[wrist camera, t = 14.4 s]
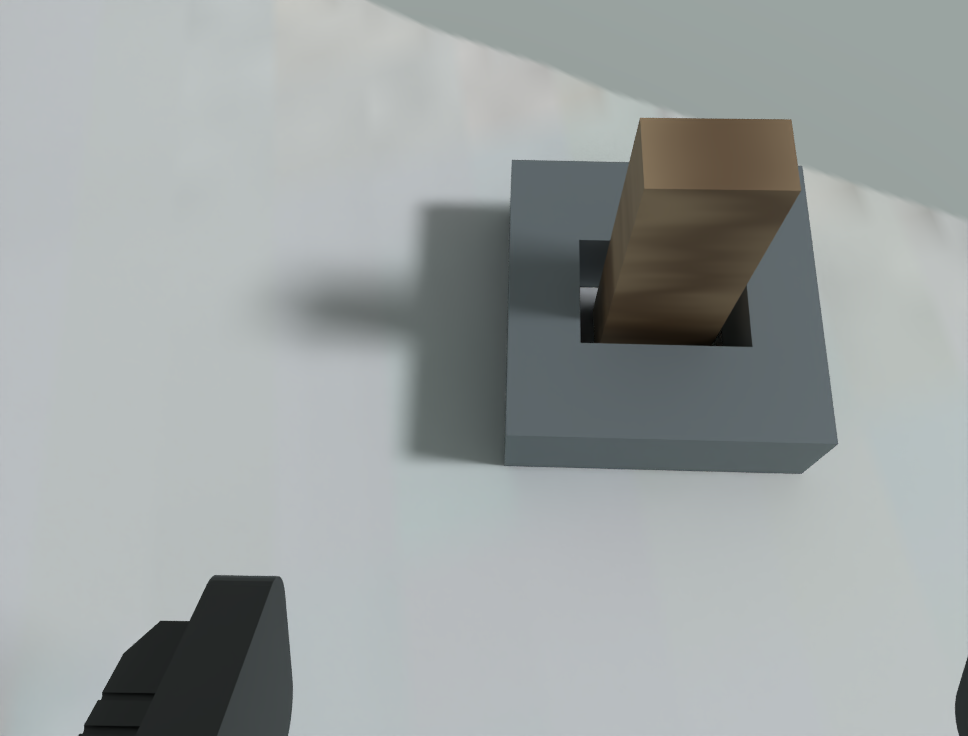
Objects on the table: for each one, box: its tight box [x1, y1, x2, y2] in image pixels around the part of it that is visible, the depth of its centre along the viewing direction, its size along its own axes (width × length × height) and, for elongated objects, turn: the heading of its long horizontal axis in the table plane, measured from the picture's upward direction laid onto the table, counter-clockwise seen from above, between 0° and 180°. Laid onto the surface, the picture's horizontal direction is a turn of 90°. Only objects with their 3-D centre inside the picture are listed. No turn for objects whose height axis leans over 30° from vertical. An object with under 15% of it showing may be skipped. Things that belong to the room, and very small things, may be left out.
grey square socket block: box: [504, 160, 838, 474], centre depth 36 cm, size 12×12×4 cm
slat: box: [593, 118, 801, 346], centre depth 32 cm, size 4×2×13 cm, turn 89°
